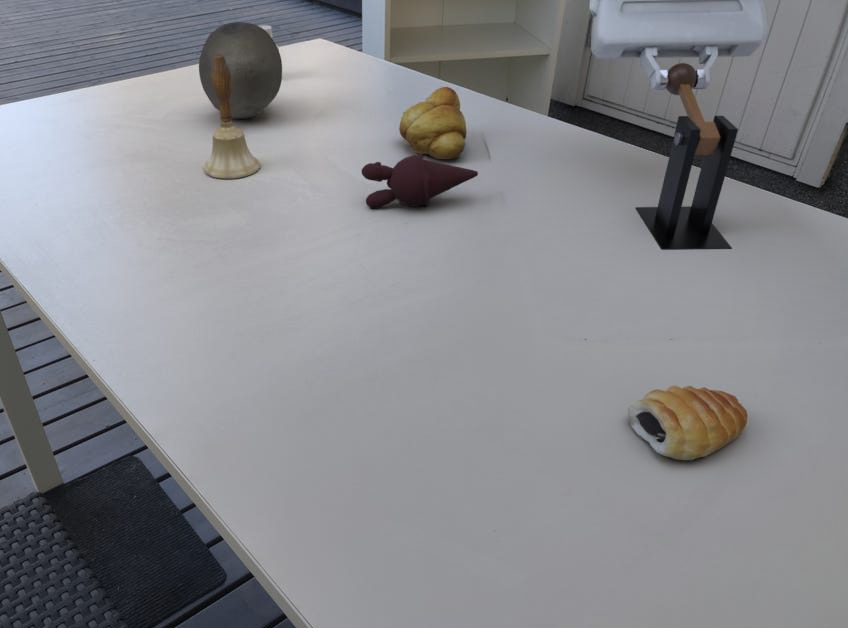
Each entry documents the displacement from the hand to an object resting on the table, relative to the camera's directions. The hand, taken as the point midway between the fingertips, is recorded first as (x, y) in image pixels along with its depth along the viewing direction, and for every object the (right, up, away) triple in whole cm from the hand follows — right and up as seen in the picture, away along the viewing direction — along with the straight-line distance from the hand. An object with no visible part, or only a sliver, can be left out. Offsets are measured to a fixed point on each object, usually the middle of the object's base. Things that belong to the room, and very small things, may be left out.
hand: (680, 87), depth 89 cm
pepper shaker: (-57, +22, +56) cm, 83 cm away
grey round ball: (-58, +9, +38) cm, 70 cm away
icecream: (-31, -12, +10) cm, 34 cm away
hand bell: (-58, -5, +21) cm, 61 cm away
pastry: (-11, -39, -27) cm, 48 cm away
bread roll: (-27, -1, +25) cm, 37 cm away
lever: (0, -4, -2) cm, 5 cm away
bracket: (0, -18, +1) cm, 18 cm away
